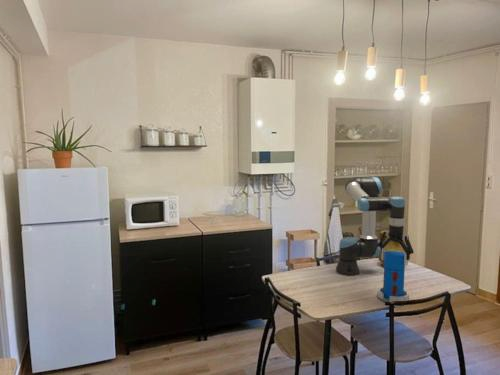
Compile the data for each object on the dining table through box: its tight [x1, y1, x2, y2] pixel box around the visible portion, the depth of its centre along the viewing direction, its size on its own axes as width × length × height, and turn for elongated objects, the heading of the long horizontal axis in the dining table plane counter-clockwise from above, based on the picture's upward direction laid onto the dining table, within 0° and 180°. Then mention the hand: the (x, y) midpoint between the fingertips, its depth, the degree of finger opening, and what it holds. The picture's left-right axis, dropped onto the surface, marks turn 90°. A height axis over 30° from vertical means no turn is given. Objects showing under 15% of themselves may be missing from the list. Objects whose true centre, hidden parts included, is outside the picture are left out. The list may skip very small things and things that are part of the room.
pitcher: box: [377, 230, 404, 268], centre depth 277 cm, size 17×19×25 cm
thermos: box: [382, 251, 406, 299], centre depth 216 cm, size 11×11×25 cm
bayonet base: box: [376, 286, 410, 303], centre depth 217 cm, size 17×17×4 cm
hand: (394, 262), depth 216 cm, fingers open, 13 cm apart
